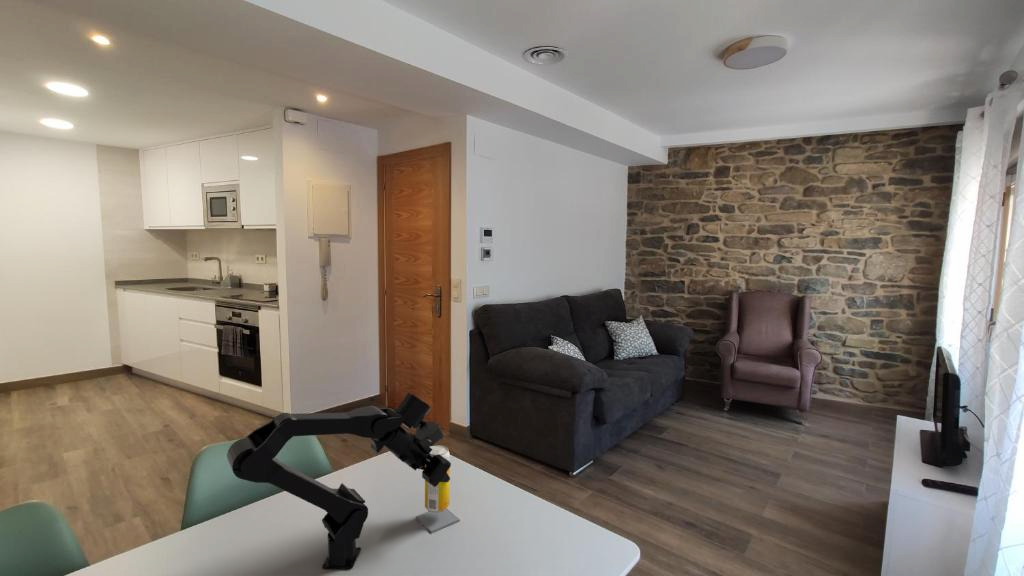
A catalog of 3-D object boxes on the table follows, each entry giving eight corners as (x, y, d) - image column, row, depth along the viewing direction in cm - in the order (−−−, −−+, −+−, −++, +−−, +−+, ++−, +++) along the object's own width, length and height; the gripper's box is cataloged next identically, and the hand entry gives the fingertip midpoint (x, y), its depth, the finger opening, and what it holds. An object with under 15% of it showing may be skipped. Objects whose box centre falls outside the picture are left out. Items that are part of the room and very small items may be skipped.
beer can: (451, 501, 120) (452, 445, 118) (446, 515, 114) (446, 456, 112) (428, 500, 120) (428, 444, 119) (421, 513, 114) (422, 454, 113)
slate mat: (431, 533, 112) (431, 531, 112) (415, 518, 118) (415, 516, 118) (459, 521, 117) (459, 519, 117) (443, 507, 123) (443, 505, 123)
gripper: (443, 426, 105) (482, 460, 113) (405, 404, 120) (442, 435, 127) (412, 470, 101) (454, 502, 109) (376, 441, 115) (416, 471, 123)
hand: (442, 475), depth 117 cm, fingers closed on beer can, 6 cm apart
